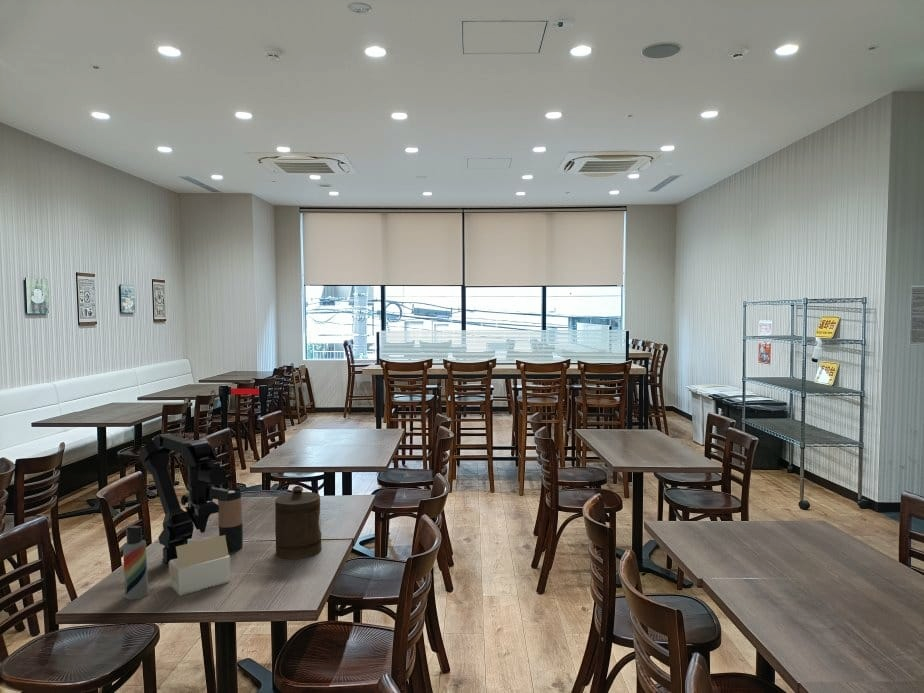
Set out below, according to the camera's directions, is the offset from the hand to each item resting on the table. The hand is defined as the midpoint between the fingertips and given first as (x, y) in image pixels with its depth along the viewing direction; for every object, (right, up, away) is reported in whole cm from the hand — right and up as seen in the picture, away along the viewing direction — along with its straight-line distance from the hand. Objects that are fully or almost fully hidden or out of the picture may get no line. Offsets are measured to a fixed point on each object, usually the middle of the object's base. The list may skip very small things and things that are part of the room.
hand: (200, 530), depth 189 cm
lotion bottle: (-10, -13, -18) cm, 25 cm away
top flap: (+6, -2, -13) cm, 15 cm away
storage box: (+5, -12, -11) cm, 17 cm away
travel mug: (+3, -12, +17) cm, 21 cm away
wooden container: (+27, -11, +14) cm, 32 cm away
